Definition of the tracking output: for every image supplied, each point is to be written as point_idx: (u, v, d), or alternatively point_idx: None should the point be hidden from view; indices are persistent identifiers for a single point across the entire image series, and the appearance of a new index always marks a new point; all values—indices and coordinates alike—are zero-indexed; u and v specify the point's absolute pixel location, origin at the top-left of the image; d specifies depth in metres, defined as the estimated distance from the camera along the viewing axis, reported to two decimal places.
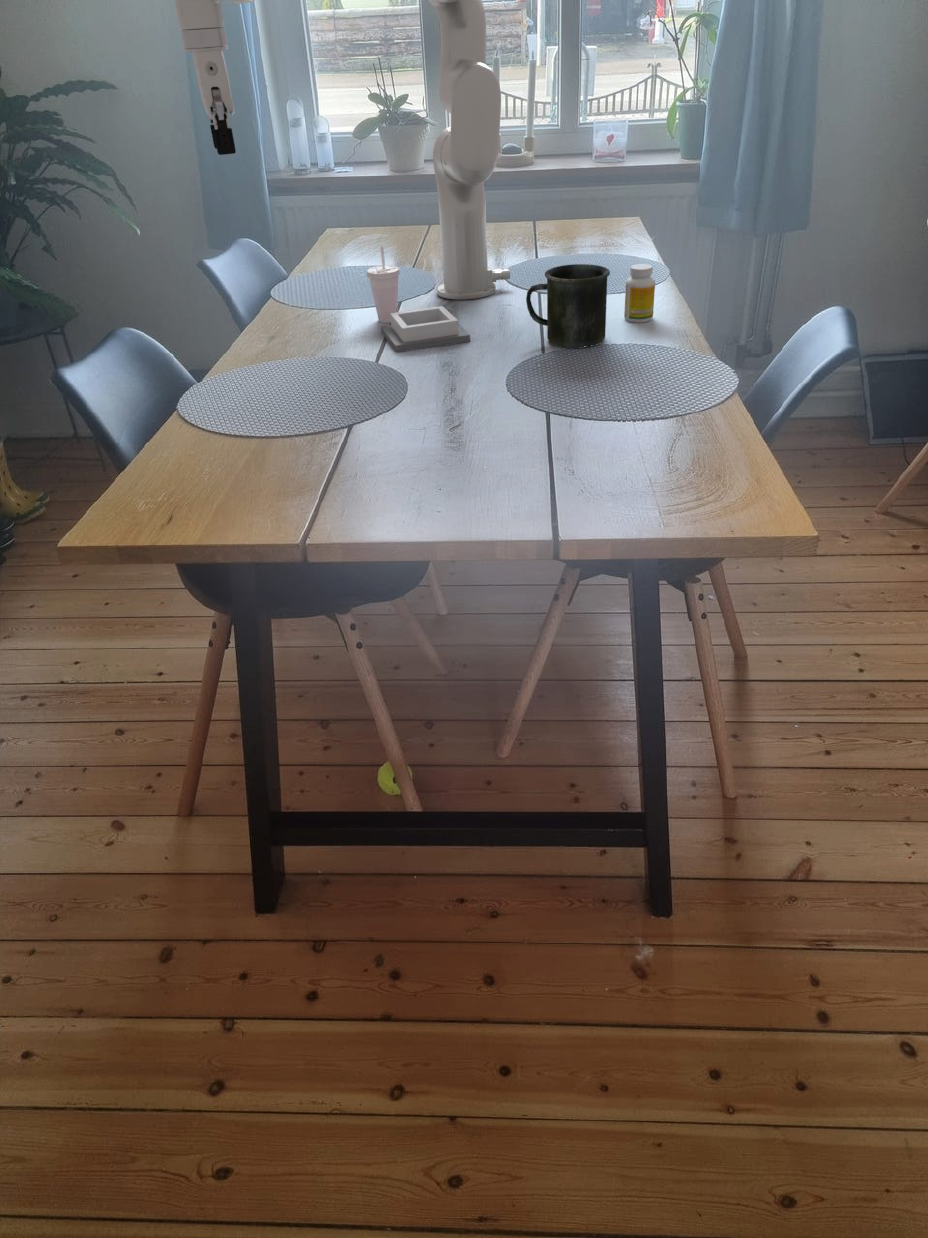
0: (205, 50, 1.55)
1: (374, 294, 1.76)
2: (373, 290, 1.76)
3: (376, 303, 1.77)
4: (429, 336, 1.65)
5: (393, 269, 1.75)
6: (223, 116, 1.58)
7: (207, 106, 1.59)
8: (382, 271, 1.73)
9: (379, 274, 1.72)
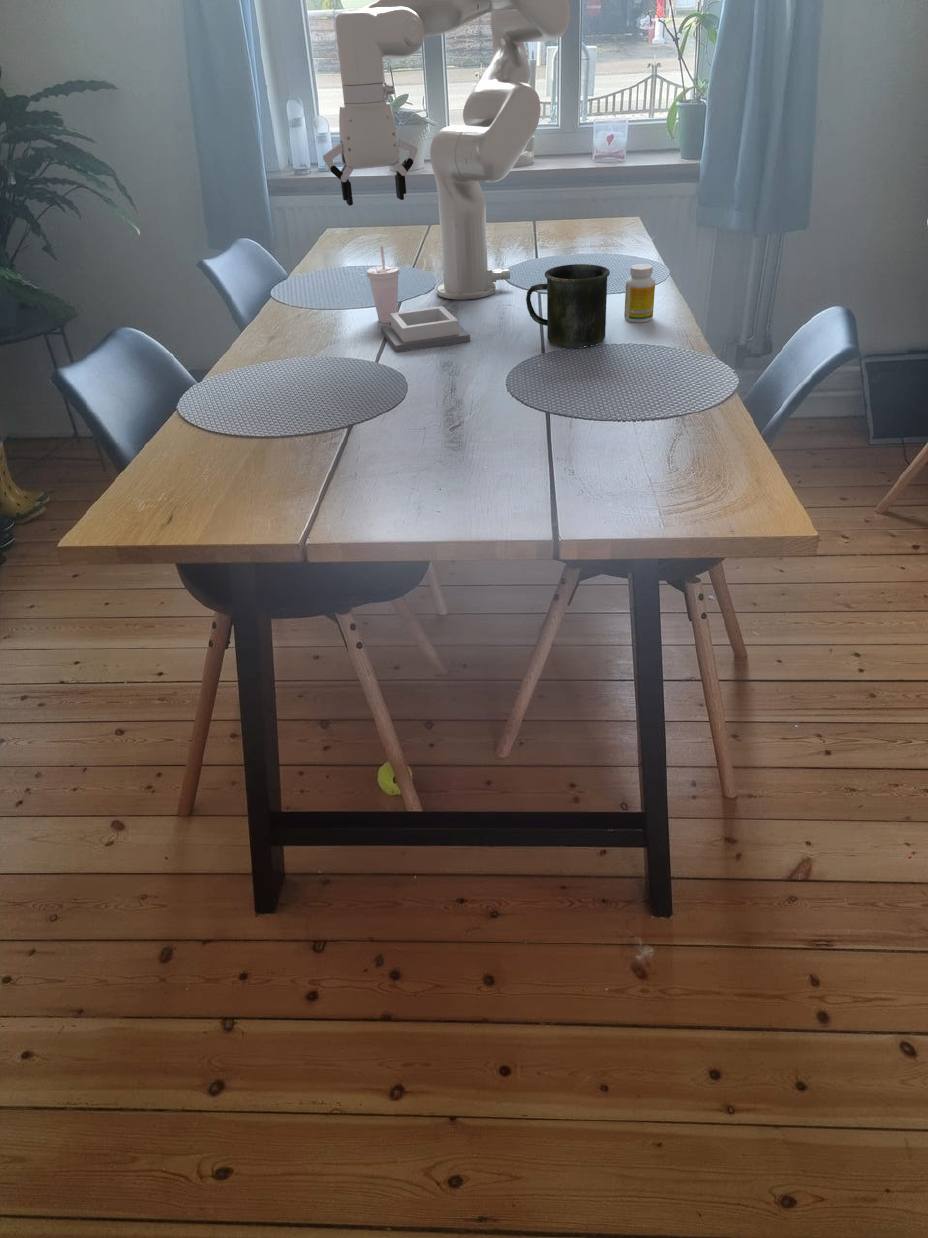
0: (386, 102, 1.59)
1: (374, 294, 1.76)
2: (373, 290, 1.76)
3: (376, 303, 1.77)
4: (429, 336, 1.65)
5: (393, 269, 1.75)
6: None
7: (398, 154, 1.63)
8: (382, 271, 1.73)
9: (379, 274, 1.72)
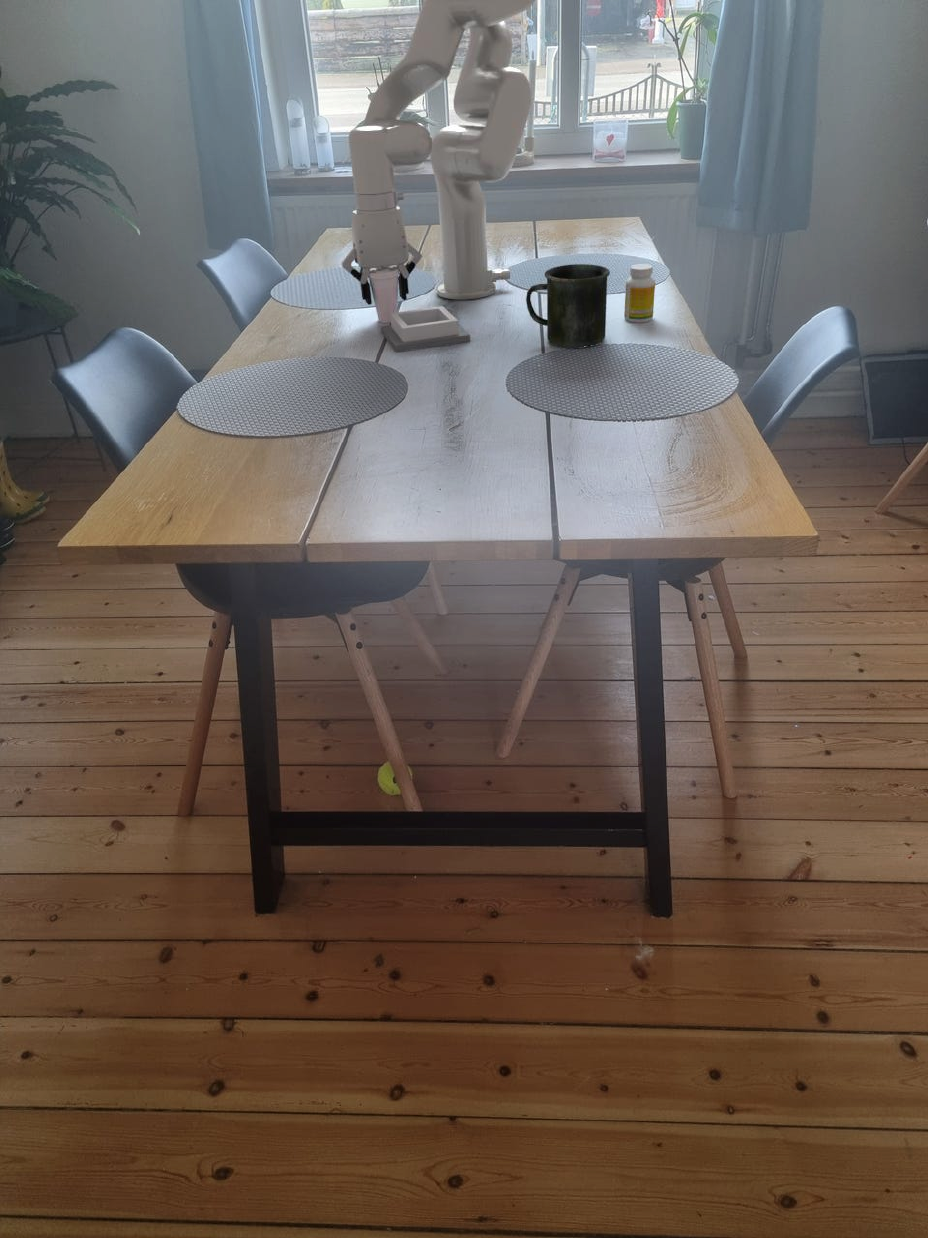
0: (396, 207, 1.69)
1: (374, 294, 1.76)
2: (373, 290, 1.76)
3: (376, 303, 1.77)
4: (429, 336, 1.65)
5: (393, 269, 1.75)
6: None
7: (407, 254, 1.73)
8: (382, 271, 1.73)
9: (379, 274, 1.72)
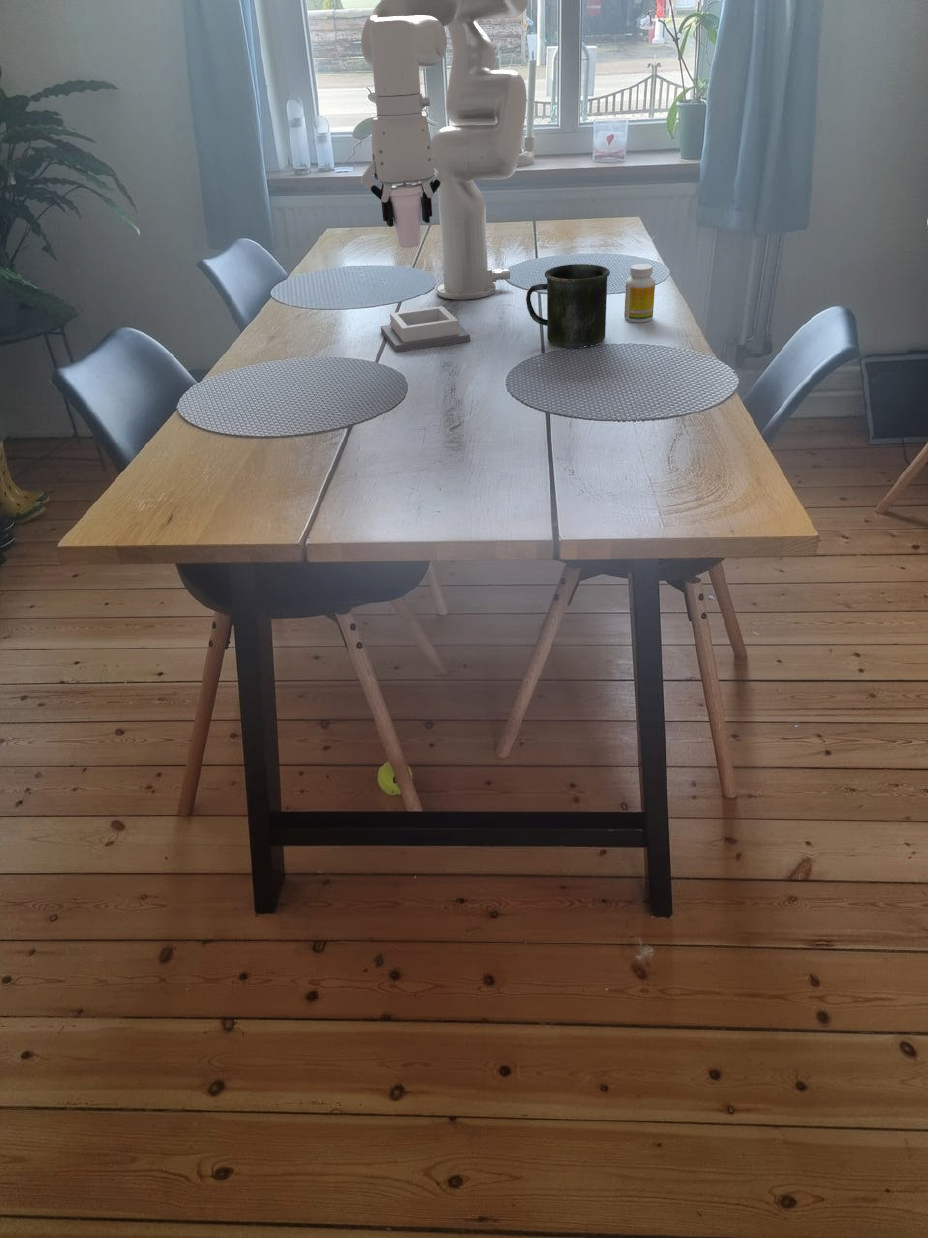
0: (422, 114, 1.51)
1: (394, 215, 1.58)
2: (393, 210, 1.58)
3: (396, 225, 1.59)
4: (429, 336, 1.65)
5: (415, 186, 1.57)
6: None
7: (433, 169, 1.55)
8: (403, 187, 1.56)
9: (399, 190, 1.54)
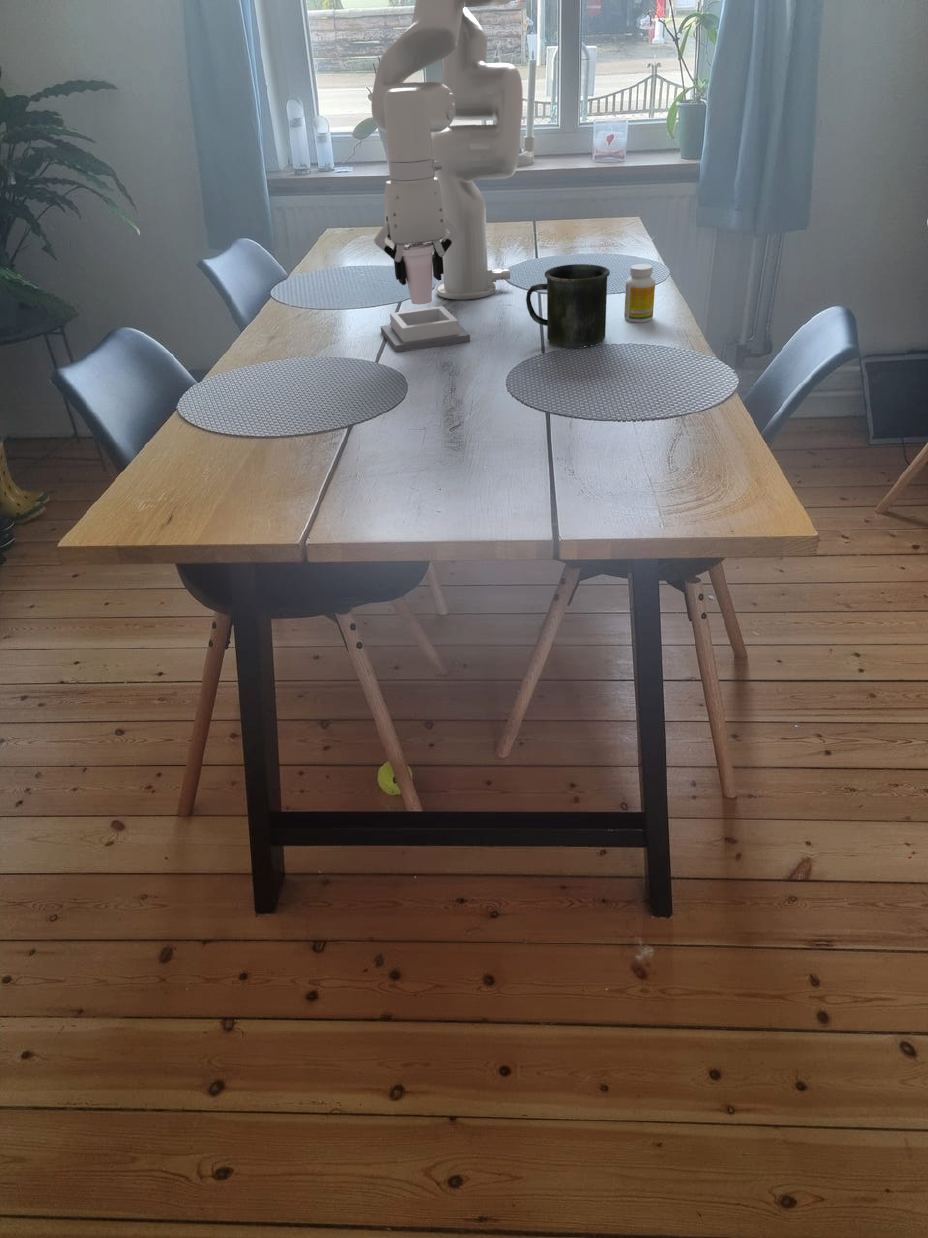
0: (434, 177, 1.55)
1: (407, 273, 1.62)
2: (406, 269, 1.61)
3: (409, 283, 1.63)
4: (429, 336, 1.65)
5: (427, 245, 1.60)
6: None
7: (444, 229, 1.59)
8: (415, 248, 1.59)
9: (412, 251, 1.58)
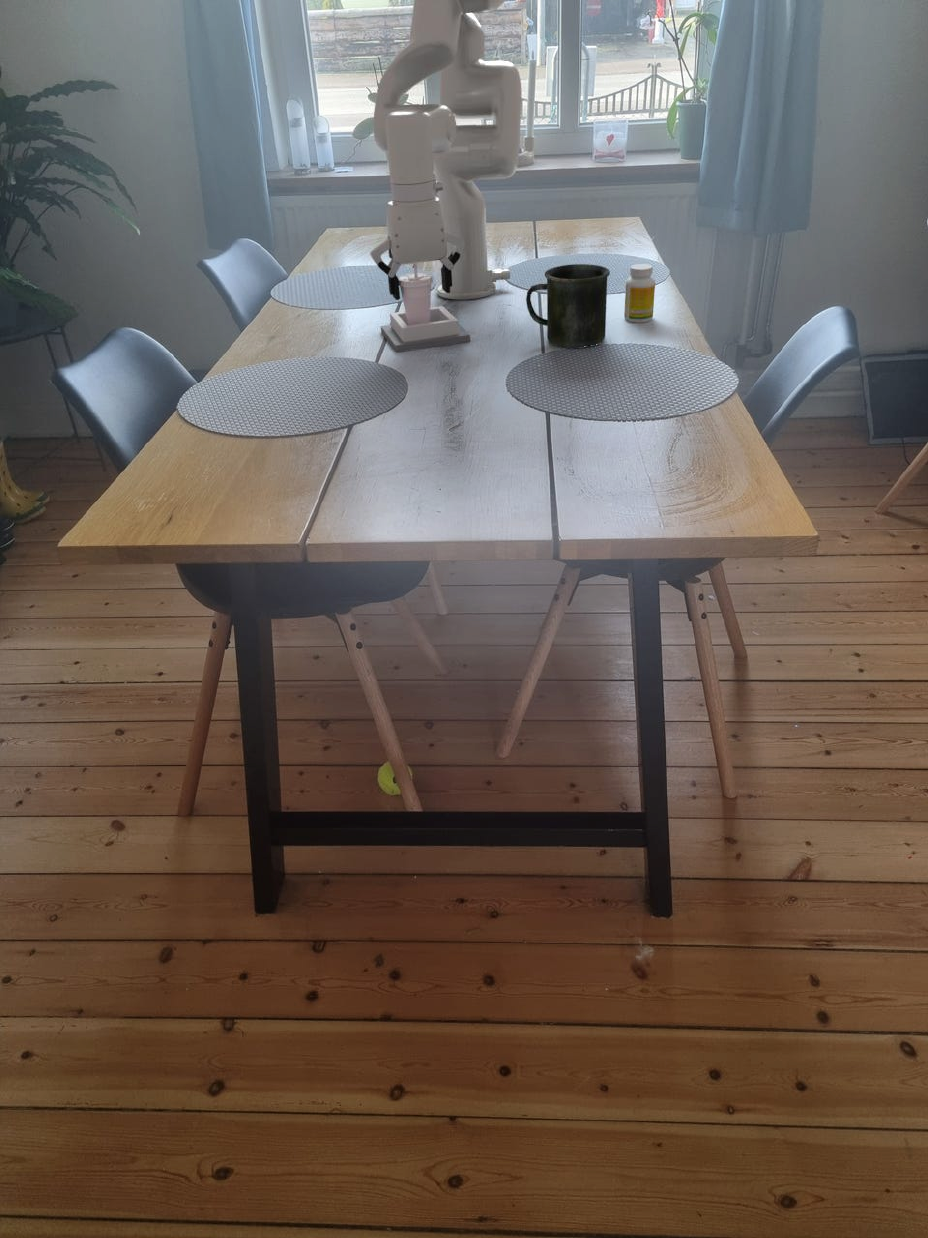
0: (435, 198, 1.57)
1: (405, 303, 1.65)
2: (404, 299, 1.64)
3: (407, 313, 1.66)
4: (429, 336, 1.65)
5: (426, 277, 1.63)
6: None
7: (446, 249, 1.61)
8: (414, 279, 1.62)
9: (411, 282, 1.61)
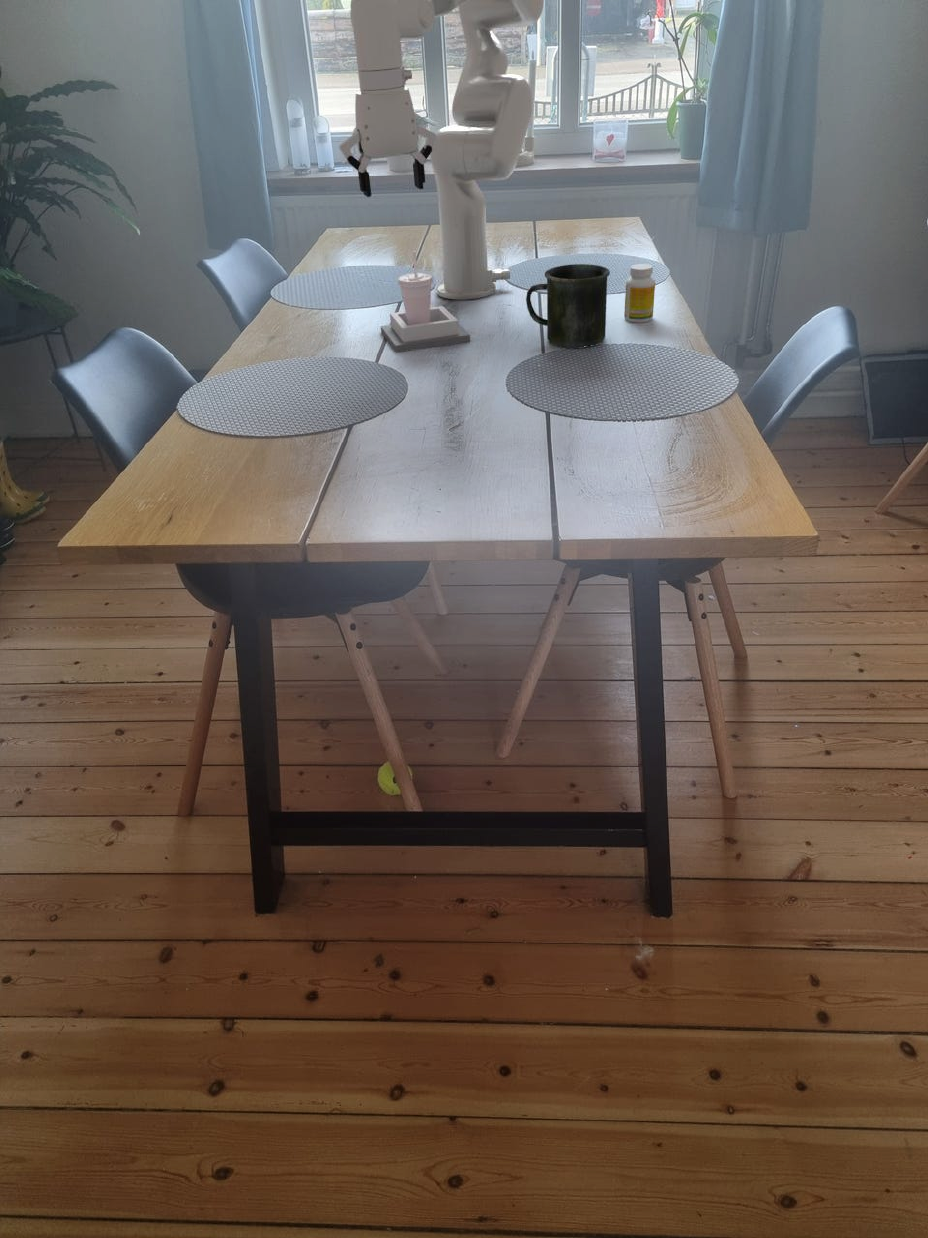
0: (404, 87, 1.53)
1: (405, 303, 1.65)
2: (404, 299, 1.64)
3: (407, 313, 1.66)
4: (429, 336, 1.65)
5: (426, 277, 1.63)
6: None
7: (417, 142, 1.57)
8: (414, 279, 1.62)
9: (411, 282, 1.61)
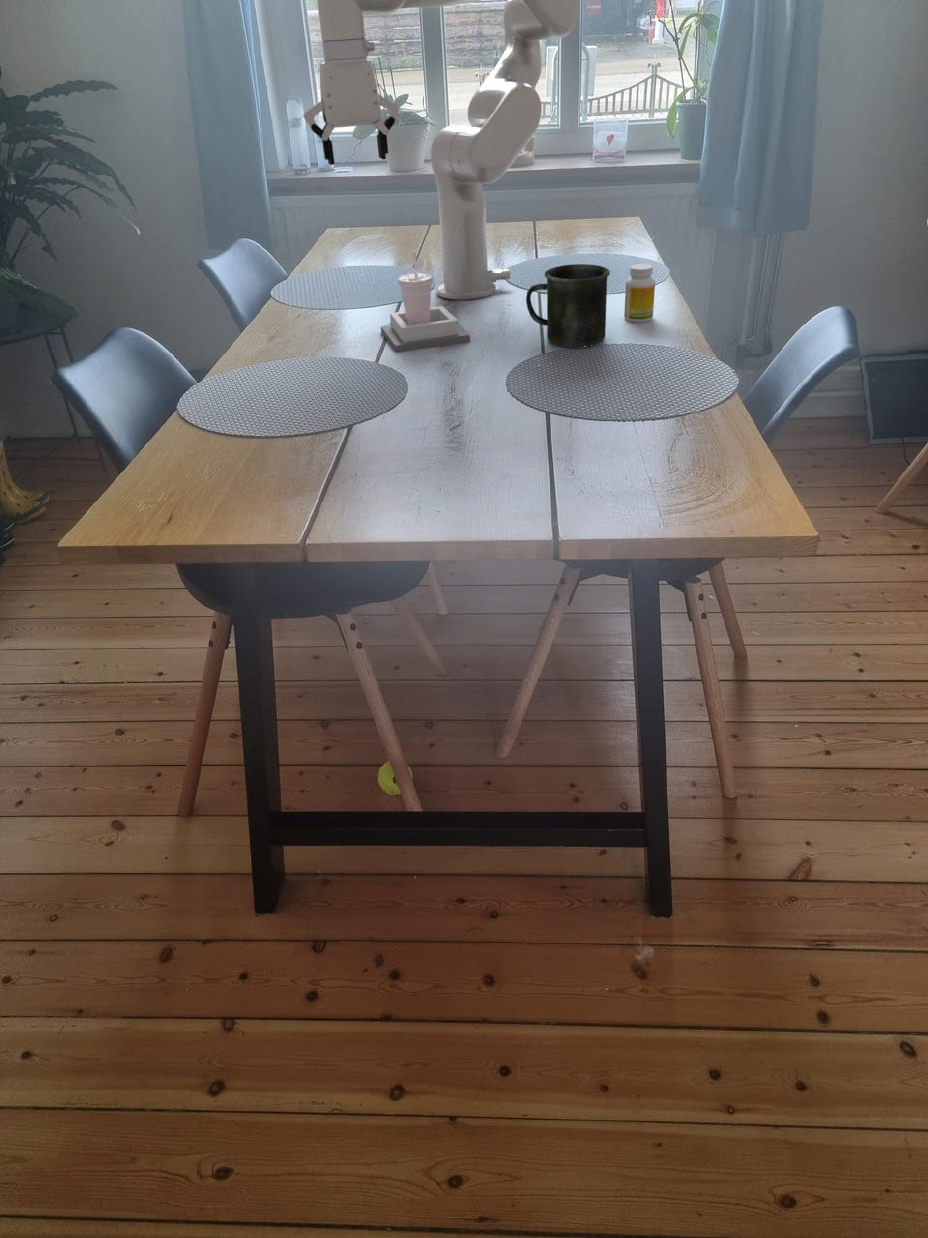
0: None
1: (405, 303, 1.65)
2: (404, 299, 1.64)
3: (407, 313, 1.66)
4: (429, 336, 1.65)
5: (426, 277, 1.63)
6: None
7: (379, 112, 1.62)
8: (414, 279, 1.62)
9: (411, 282, 1.61)
